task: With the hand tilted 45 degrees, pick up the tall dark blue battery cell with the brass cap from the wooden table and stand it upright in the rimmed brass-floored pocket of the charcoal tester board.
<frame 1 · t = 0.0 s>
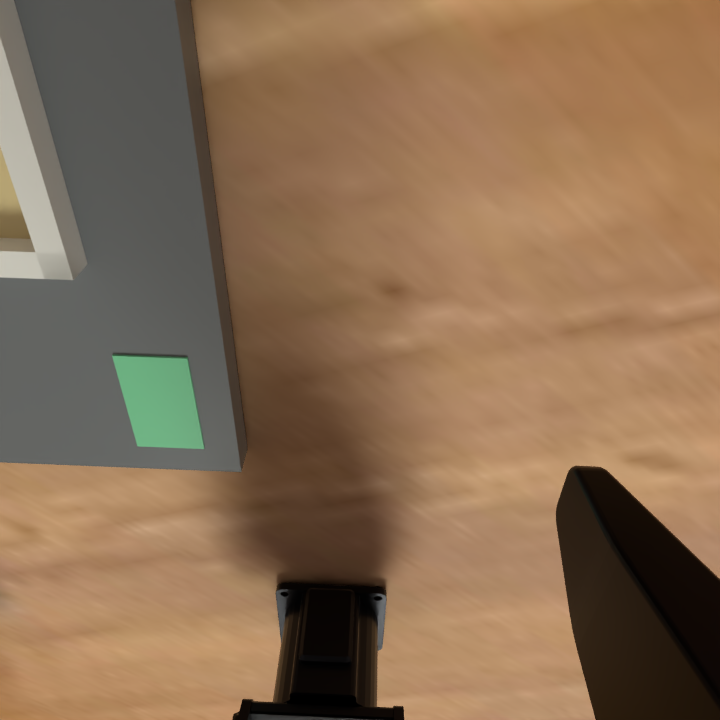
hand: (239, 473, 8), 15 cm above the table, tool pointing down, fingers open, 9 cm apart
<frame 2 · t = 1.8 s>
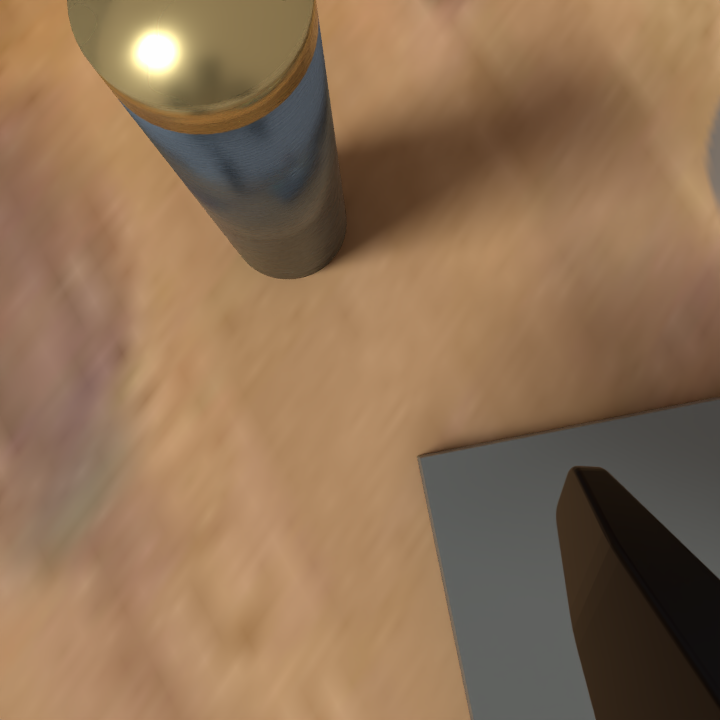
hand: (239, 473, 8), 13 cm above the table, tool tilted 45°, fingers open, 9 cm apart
cell: (288, 222, 22), on the table
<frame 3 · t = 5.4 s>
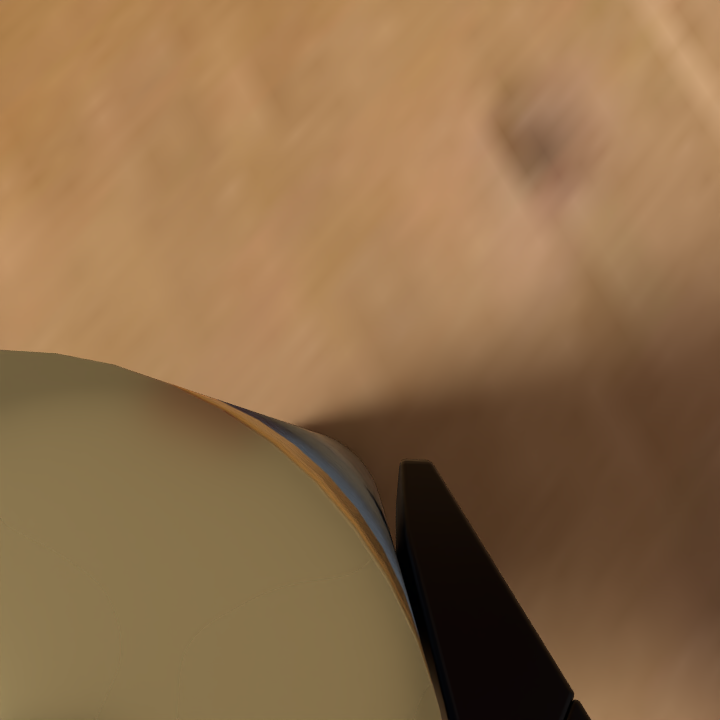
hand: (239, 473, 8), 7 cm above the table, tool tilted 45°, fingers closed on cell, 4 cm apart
cell: (293, 520, 14), on the table, touching gripper
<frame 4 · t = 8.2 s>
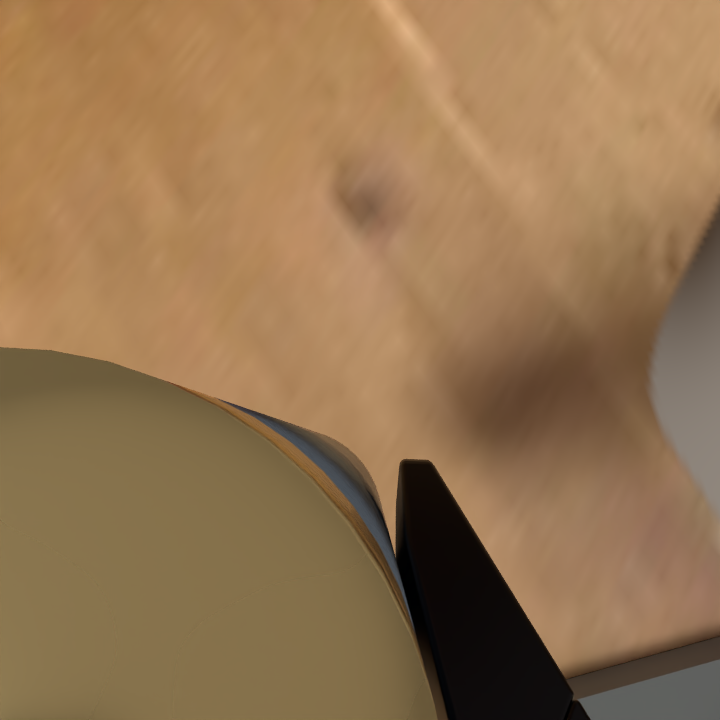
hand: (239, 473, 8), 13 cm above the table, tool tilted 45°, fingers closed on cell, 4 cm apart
cell: (292, 519, 14), point 7 cm above the table, touching gripper
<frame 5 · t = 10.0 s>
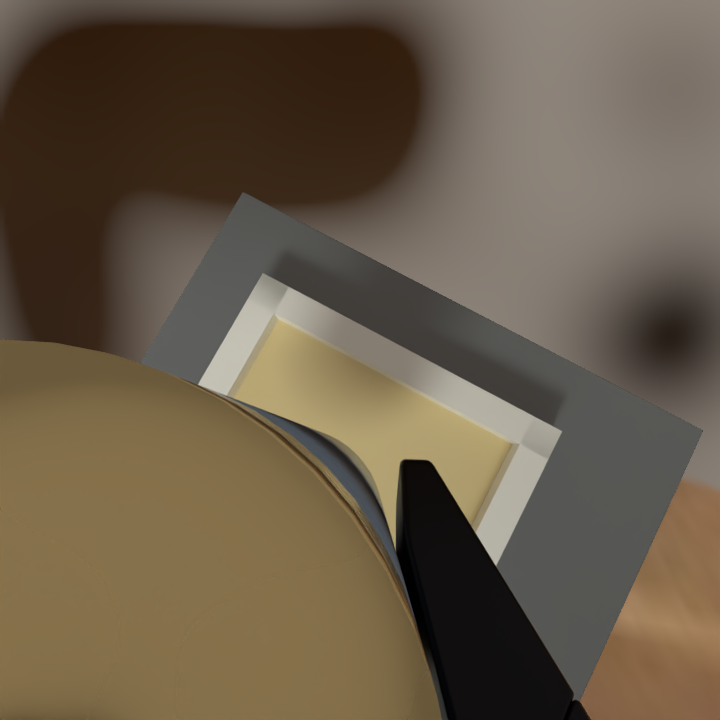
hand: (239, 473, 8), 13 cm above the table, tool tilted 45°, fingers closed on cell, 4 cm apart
tester board: (302, 612, 21), on the table
cell: (292, 518, 14), point 7 cm above the table, touching gripper
when the fingers open (9 cm above the table, at t = 11.5 s): cell stays where it is, resting on tester board.
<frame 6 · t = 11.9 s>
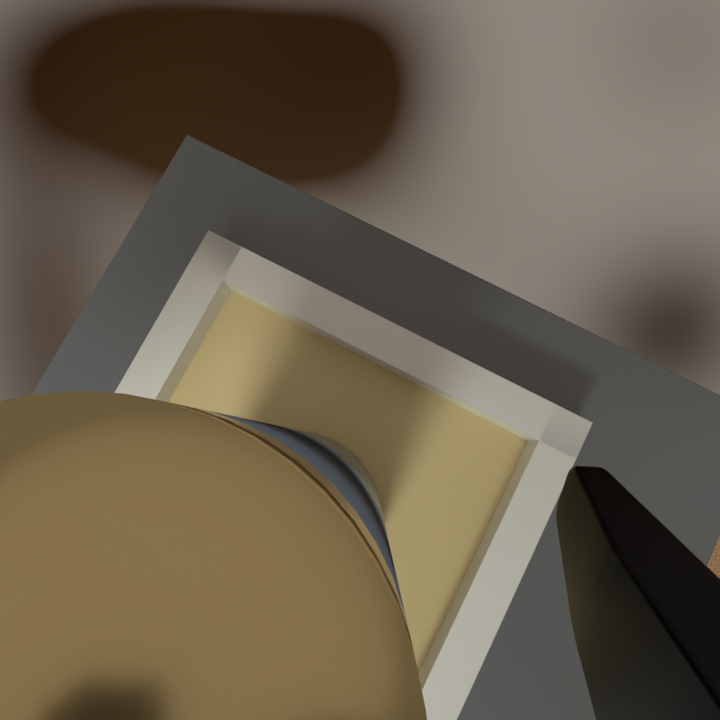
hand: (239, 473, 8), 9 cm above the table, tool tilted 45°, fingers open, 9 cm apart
tester board: (268, 656, 16), on the table
cell: (296, 516, 15), point 2 cm above the table, touching tester board
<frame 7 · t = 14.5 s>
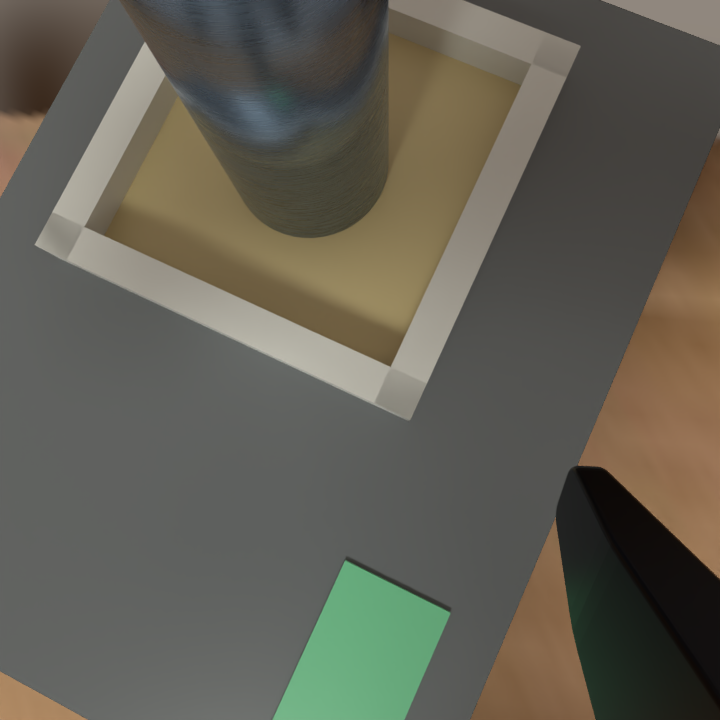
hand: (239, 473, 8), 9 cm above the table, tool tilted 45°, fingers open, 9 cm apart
tester board: (292, 314, 18), on the table
cell: (311, 163, 17), point 2 cm above the table, touching tester board
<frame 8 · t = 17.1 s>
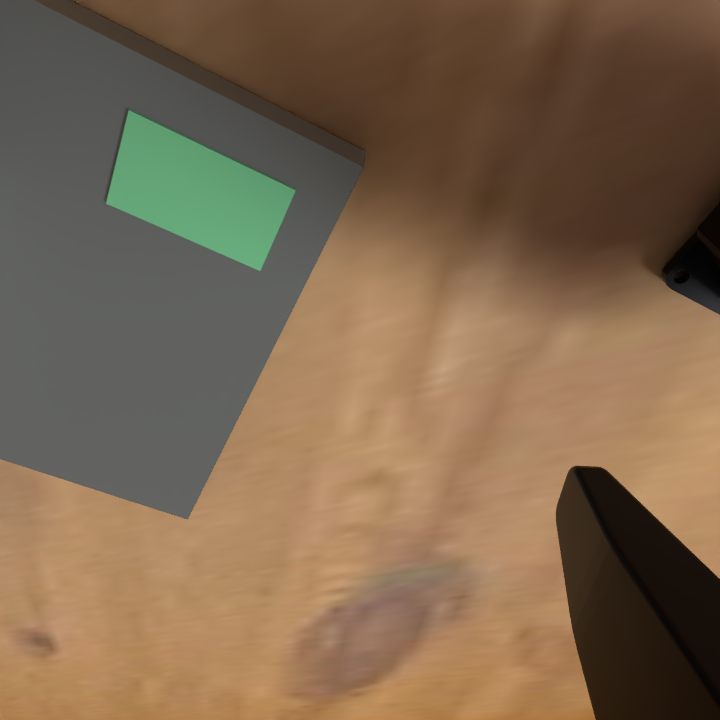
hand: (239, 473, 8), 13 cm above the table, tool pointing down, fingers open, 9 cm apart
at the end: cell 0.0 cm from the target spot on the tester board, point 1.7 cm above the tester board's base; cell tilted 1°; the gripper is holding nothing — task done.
